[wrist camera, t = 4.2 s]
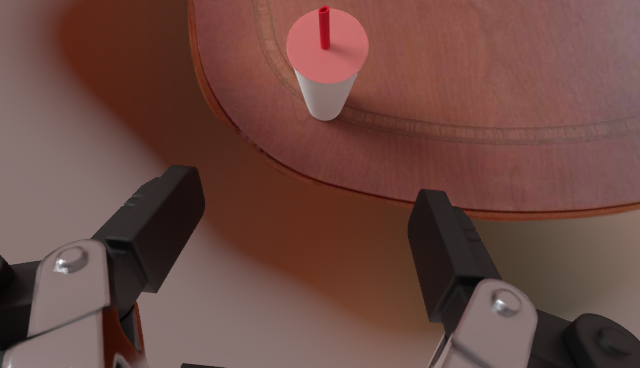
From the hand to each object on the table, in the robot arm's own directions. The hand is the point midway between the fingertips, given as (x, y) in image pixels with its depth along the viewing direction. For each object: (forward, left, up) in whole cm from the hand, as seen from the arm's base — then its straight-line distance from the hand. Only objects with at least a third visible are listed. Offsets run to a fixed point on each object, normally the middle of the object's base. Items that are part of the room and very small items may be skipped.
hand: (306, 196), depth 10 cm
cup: (+2, +11, -16) cm, 19 cm away
